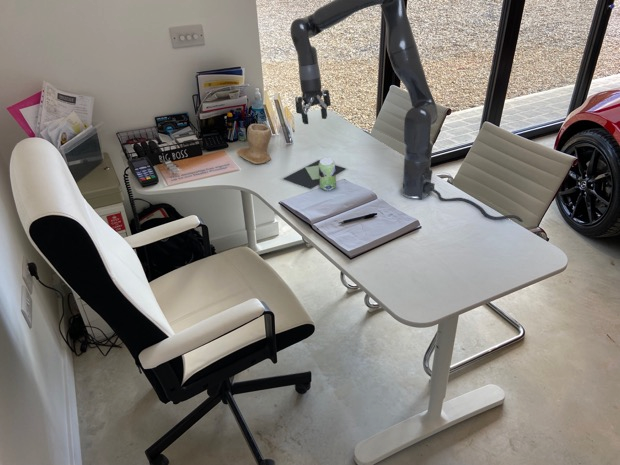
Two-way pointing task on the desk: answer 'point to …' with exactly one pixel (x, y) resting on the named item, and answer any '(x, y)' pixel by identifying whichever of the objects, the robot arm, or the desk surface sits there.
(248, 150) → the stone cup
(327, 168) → the beverage can
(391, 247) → the desk surface
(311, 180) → the desk mat
